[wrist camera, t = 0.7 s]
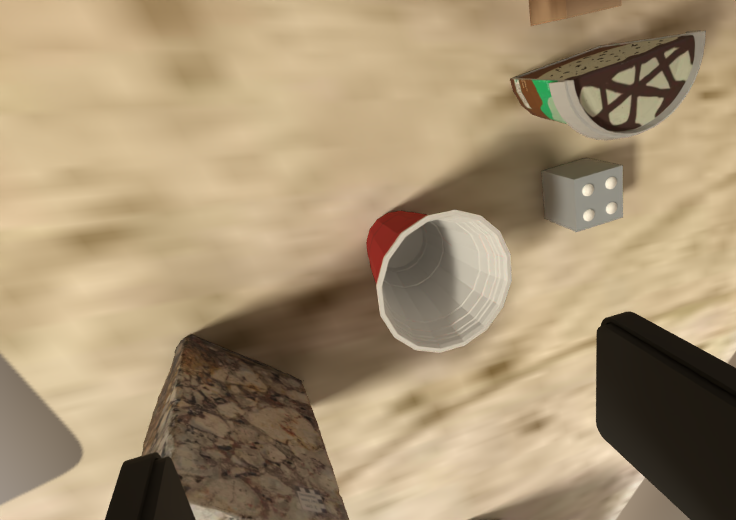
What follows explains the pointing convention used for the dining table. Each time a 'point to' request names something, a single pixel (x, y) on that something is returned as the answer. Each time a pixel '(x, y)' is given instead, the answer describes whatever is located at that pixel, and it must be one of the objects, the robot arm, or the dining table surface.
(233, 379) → the stone block
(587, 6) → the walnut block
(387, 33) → the dining table surface
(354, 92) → the dining table surface
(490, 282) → the plastic cup
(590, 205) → the slate-grey block
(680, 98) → the food container
